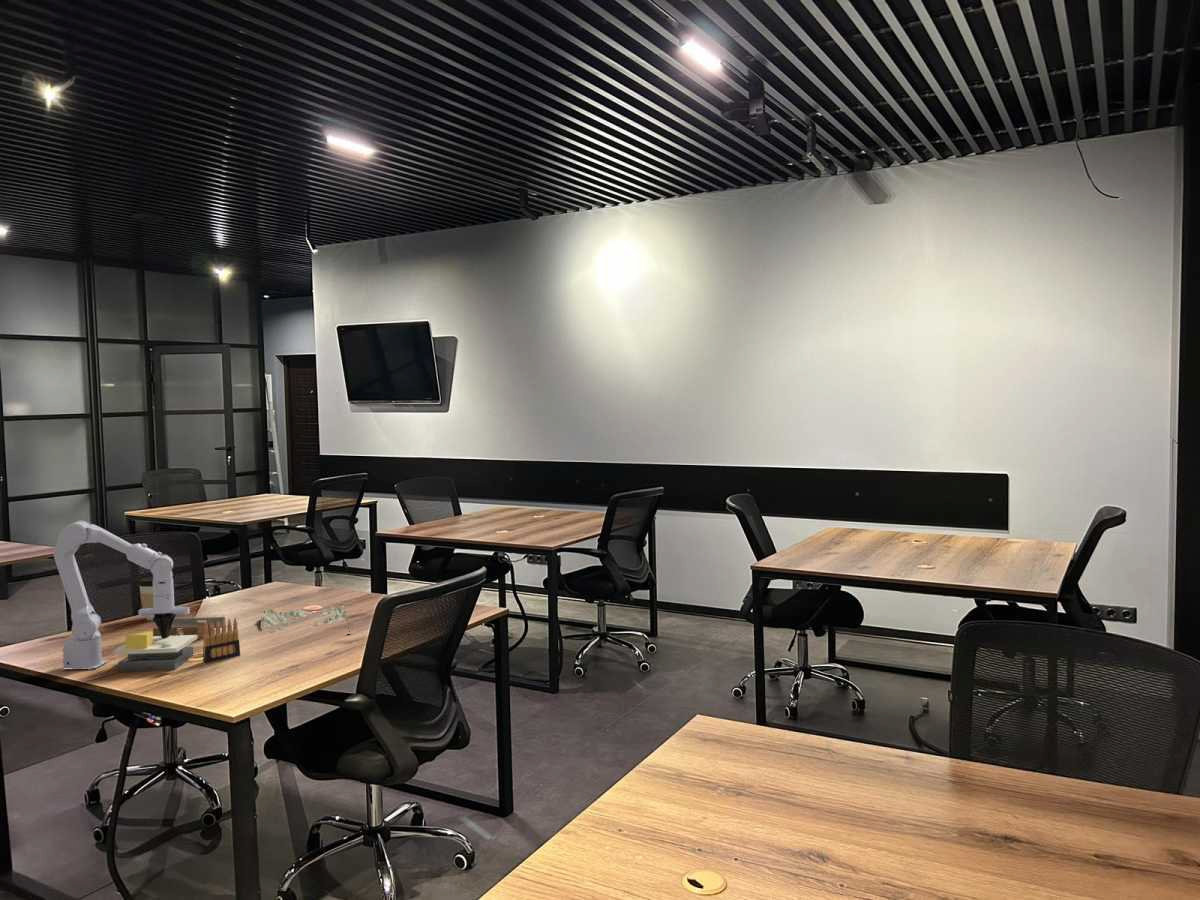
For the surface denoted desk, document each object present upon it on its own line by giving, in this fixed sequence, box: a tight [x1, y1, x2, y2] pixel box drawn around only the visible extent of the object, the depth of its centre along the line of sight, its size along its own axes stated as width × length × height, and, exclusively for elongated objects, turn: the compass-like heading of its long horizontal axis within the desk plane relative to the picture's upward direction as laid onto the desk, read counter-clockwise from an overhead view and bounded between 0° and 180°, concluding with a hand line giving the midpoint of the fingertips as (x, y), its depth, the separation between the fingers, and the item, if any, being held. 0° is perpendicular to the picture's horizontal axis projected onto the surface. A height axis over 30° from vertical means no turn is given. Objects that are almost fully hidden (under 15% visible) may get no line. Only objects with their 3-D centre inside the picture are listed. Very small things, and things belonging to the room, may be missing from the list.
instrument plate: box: [112, 630, 198, 656], centre depth 252 cm, size 18×16×5 cm
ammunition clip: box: [202, 617, 241, 664], centre depth 257 cm, size 11×2×12 cm, turn 136°
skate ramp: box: [152, 614, 226, 639], centre depth 283 cm, size 29×35×8 cm
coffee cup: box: [137, 576, 154, 619], centre depth 310 cm, size 10×10×15 cm
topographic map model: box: [260, 602, 348, 633], centre depth 295 cm, size 36×29×5 cm
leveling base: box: [117, 646, 194, 672], centre depth 252 cm, size 16×14×5 cm
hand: (165, 637), depth 258 cm, fingers closed, pressing on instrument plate
